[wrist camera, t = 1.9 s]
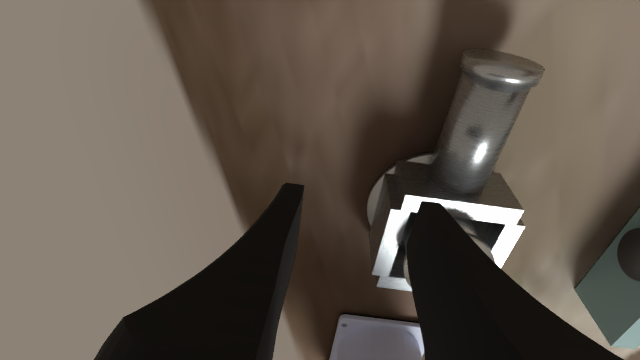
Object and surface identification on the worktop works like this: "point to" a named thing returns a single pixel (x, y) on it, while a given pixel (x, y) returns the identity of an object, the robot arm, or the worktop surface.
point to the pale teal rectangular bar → (616, 288)
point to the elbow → (460, 165)
